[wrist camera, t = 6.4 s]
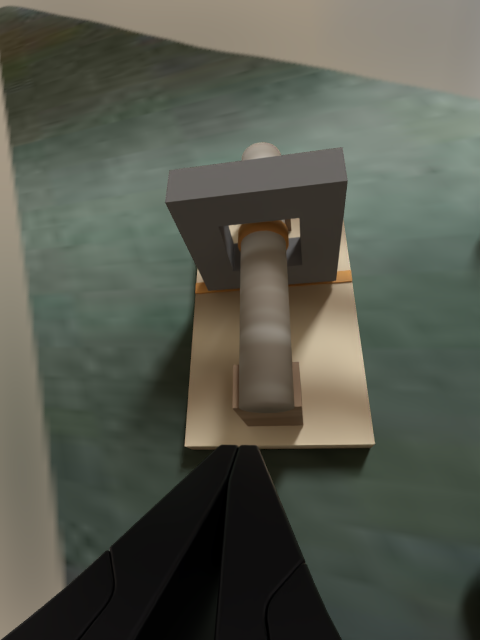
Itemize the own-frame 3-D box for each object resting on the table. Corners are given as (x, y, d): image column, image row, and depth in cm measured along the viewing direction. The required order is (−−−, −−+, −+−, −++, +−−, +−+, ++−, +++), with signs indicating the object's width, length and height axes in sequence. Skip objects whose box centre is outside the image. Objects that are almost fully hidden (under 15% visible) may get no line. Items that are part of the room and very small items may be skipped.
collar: (336, 280, 23) (347, 180, 16) (208, 290, 24) (165, 202, 17) (333, 253, 24) (342, 147, 16) (209, 264, 25) (169, 170, 18)
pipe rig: (370, 447, 20) (399, 422, 14) (192, 449, 22) (141, 427, 15) (338, 206, 28) (346, 115, 21) (206, 221, 29) (176, 140, 23)
